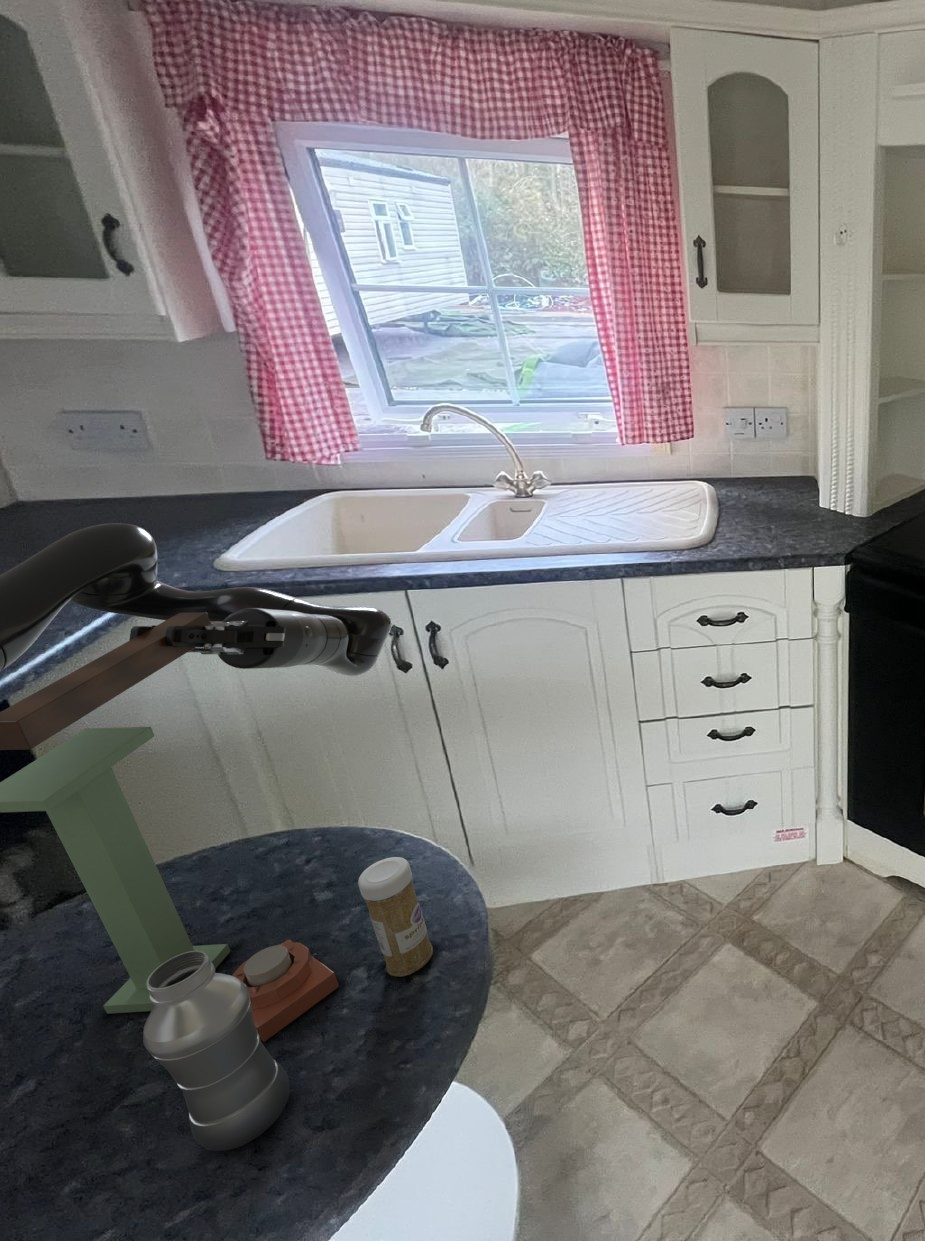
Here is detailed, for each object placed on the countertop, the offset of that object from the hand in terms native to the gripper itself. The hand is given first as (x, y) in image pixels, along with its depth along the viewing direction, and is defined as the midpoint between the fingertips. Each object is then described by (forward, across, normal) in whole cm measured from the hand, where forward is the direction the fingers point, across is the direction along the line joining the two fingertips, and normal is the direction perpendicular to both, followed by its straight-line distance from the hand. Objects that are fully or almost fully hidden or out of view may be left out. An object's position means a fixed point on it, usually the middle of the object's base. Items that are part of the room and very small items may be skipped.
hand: (151, 636), depth 79 cm
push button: (-4, -13, -36) cm, 38 cm away
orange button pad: (-5, -13, -39) cm, 41 cm away
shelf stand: (-8, 0, -38) cm, 38 cm away
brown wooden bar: (+3, 0, -5) cm, 6 cm away
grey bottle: (+6, -18, -46) cm, 49 cm away
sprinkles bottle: (-8, -24, -37) cm, 45 cm away
